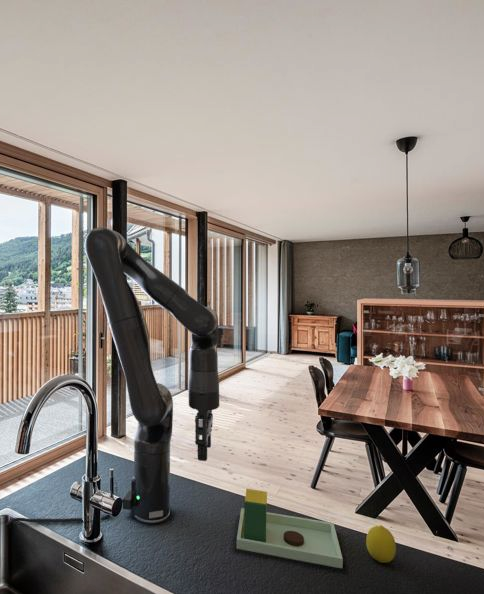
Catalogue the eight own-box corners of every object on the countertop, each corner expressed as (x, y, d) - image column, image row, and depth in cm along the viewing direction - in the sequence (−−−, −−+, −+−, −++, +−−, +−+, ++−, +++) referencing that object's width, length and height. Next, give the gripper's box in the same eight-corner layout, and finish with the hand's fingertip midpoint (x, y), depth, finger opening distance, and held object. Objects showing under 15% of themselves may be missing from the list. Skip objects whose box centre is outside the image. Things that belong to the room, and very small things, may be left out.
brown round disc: (283, 544, 93) (283, 540, 93) (283, 533, 97) (283, 529, 97) (304, 548, 92) (304, 543, 92) (303, 536, 96) (303, 532, 96)
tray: (236, 550, 91) (236, 539, 91) (241, 518, 104) (241, 507, 104) (342, 571, 85) (342, 558, 85) (333, 533, 98) (333, 522, 98)
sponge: (243, 541, 94) (244, 502, 94) (245, 524, 100) (246, 488, 100) (265, 545, 92) (266, 505, 92) (266, 528, 99) (266, 491, 99)
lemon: (399, 573, 85) (400, 535, 84) (370, 569, 86) (371, 531, 86) (389, 556, 90) (390, 520, 90) (362, 552, 91) (363, 517, 91)
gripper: (192, 381, 109) (193, 442, 109) (183, 393, 95) (184, 463, 95) (221, 382, 107) (222, 444, 107) (216, 395, 93) (217, 466, 93)
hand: (204, 453), depth 101 cm, fingers open, 8 cm apart
